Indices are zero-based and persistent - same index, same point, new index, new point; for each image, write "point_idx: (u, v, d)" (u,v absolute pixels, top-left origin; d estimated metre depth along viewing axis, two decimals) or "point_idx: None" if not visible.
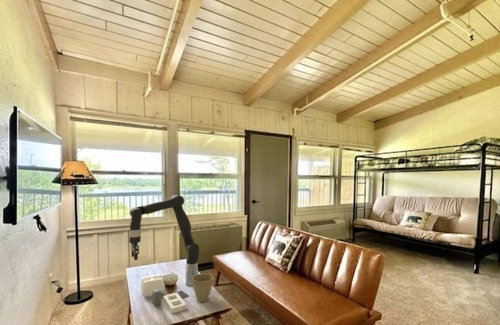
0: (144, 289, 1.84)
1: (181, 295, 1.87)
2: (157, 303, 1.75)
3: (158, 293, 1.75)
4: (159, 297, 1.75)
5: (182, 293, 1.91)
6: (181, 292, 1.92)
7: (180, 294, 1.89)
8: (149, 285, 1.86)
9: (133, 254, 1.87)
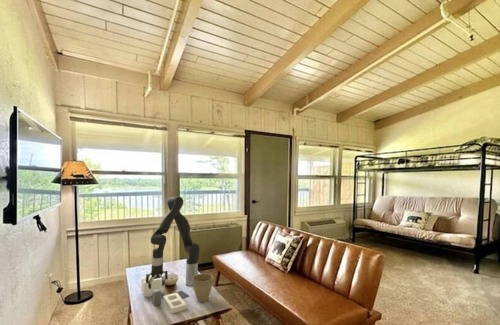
0: (144, 289, 1.84)
1: (181, 295, 1.87)
2: (157, 303, 1.75)
3: (158, 293, 1.75)
4: (159, 297, 1.75)
5: (182, 293, 1.91)
6: (181, 292, 1.92)
7: (180, 294, 1.89)
8: None
9: (150, 286, 1.75)
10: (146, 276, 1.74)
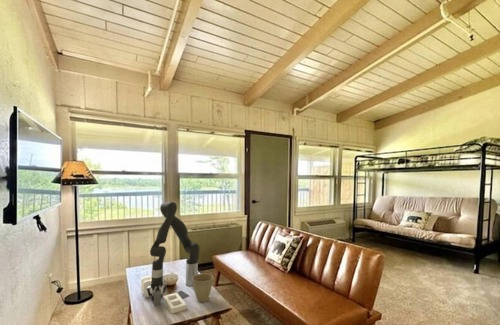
0: (144, 289, 1.84)
1: (181, 295, 1.87)
2: (157, 303, 1.75)
3: (158, 293, 1.75)
4: (159, 297, 1.75)
5: (182, 293, 1.91)
6: (181, 292, 1.92)
7: (180, 294, 1.89)
8: (149, 285, 1.86)
9: None
10: (147, 290, 1.74)
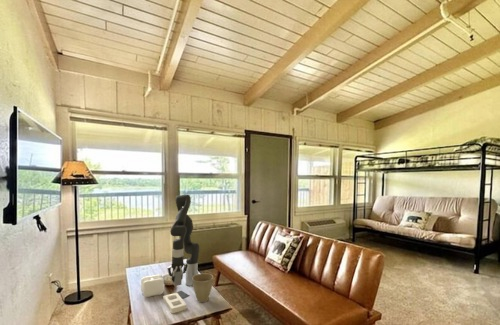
0: (144, 289, 1.84)
1: (181, 295, 1.87)
2: (178, 283, 1.71)
3: (179, 273, 1.71)
4: (180, 277, 1.71)
5: (182, 293, 1.91)
6: (181, 292, 1.92)
7: (180, 294, 1.89)
8: (149, 285, 1.86)
9: (173, 279, 1.71)
10: (168, 270, 1.70)
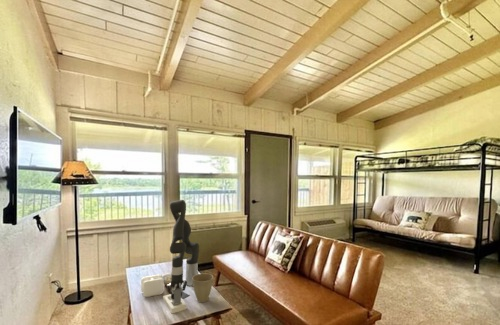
0: (144, 289, 1.84)
1: None
2: (177, 301, 1.70)
3: (178, 291, 1.70)
4: (179, 295, 1.71)
5: (182, 293, 1.91)
6: None
7: None
8: (149, 285, 1.86)
9: None
10: (167, 287, 1.69)
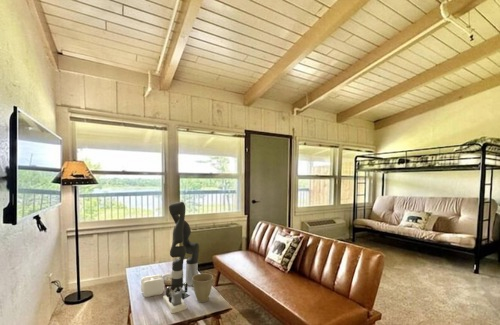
0: (144, 289, 1.84)
1: (181, 295, 1.87)
2: None
3: (178, 296, 1.70)
4: (179, 300, 1.71)
5: None
6: (181, 292, 1.92)
7: None
8: (149, 285, 1.86)
9: None
10: (166, 290, 1.69)
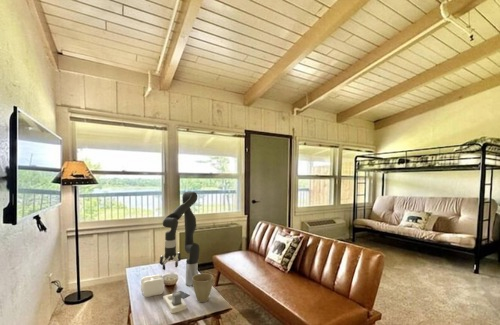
0: (144, 289, 1.84)
1: (181, 295, 1.87)
2: None
3: (178, 296, 1.70)
4: (179, 300, 1.71)
5: (182, 293, 1.91)
6: (180, 292, 1.92)
7: None
8: (149, 285, 1.86)
9: (164, 267, 1.79)
10: (160, 258, 1.78)
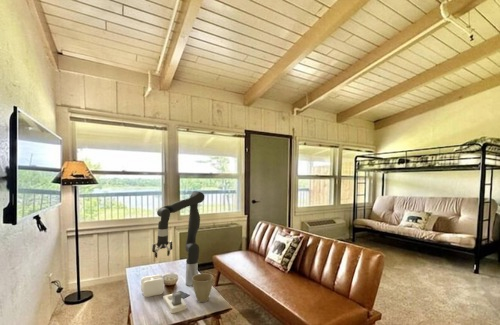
0: (144, 289, 1.84)
1: (182, 295, 1.87)
2: None
3: (178, 296, 1.70)
4: (179, 300, 1.71)
5: (182, 293, 1.91)
6: (180, 292, 1.92)
7: None
8: (149, 285, 1.86)
9: (156, 255, 1.88)
10: None
